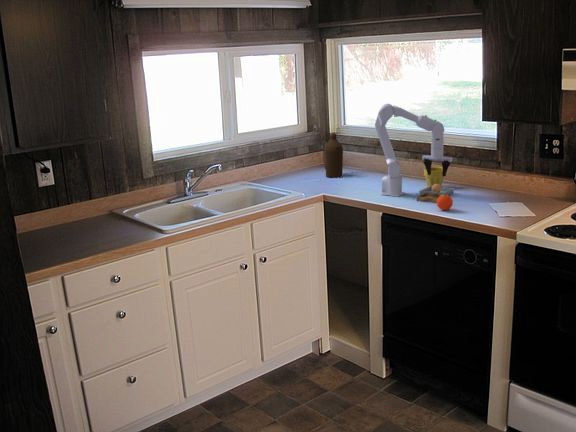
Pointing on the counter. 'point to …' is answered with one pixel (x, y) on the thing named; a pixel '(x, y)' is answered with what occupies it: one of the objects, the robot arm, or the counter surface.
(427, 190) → the dish
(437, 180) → the plant pot
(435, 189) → the ball
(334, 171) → the olive oil
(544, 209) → the counter surface
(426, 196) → the tray
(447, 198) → the clementine
